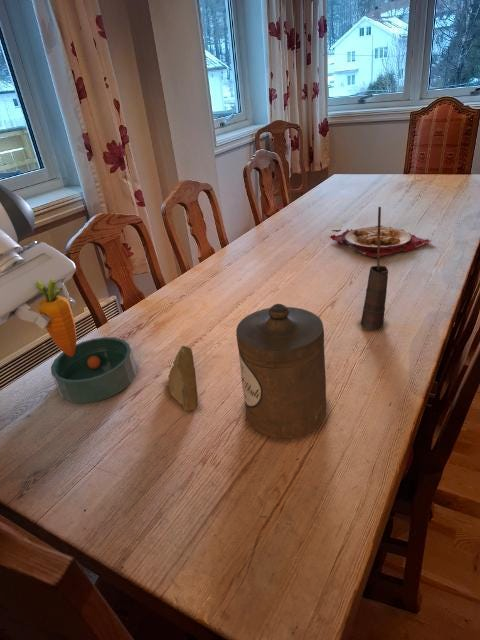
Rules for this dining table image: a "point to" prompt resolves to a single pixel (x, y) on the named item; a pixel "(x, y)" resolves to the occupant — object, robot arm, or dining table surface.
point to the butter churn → (375, 292)
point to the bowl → (94, 370)
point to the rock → (184, 379)
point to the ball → (94, 362)
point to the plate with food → (389, 240)
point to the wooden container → (283, 370)
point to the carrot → (59, 318)
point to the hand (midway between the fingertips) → (60, 315)
